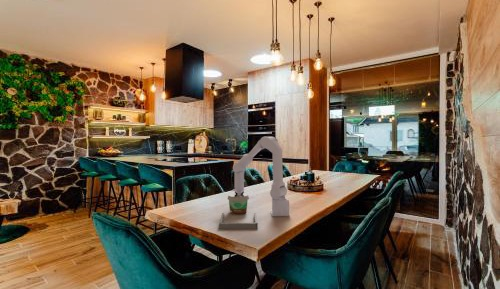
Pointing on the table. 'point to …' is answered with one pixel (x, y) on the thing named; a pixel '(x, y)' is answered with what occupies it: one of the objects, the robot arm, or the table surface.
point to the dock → (238, 224)
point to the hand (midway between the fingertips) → (239, 204)
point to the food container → (238, 204)
